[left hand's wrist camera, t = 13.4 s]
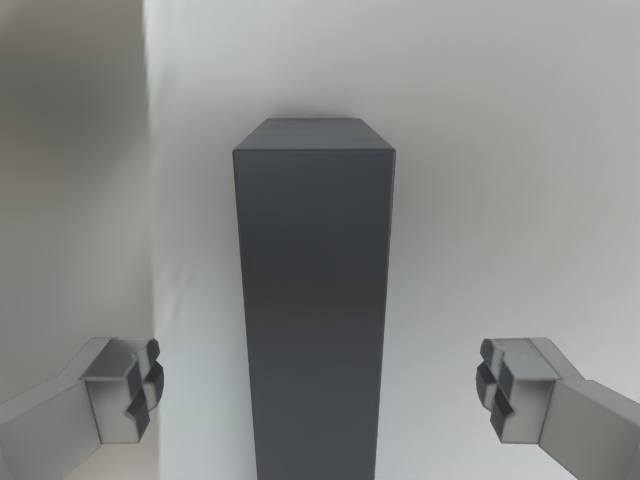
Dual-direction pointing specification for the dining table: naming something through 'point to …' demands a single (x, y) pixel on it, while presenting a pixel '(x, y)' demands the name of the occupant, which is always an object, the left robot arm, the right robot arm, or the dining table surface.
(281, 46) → the dining table surface
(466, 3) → the dining table surface
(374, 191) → the post
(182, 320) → the dining table surface
